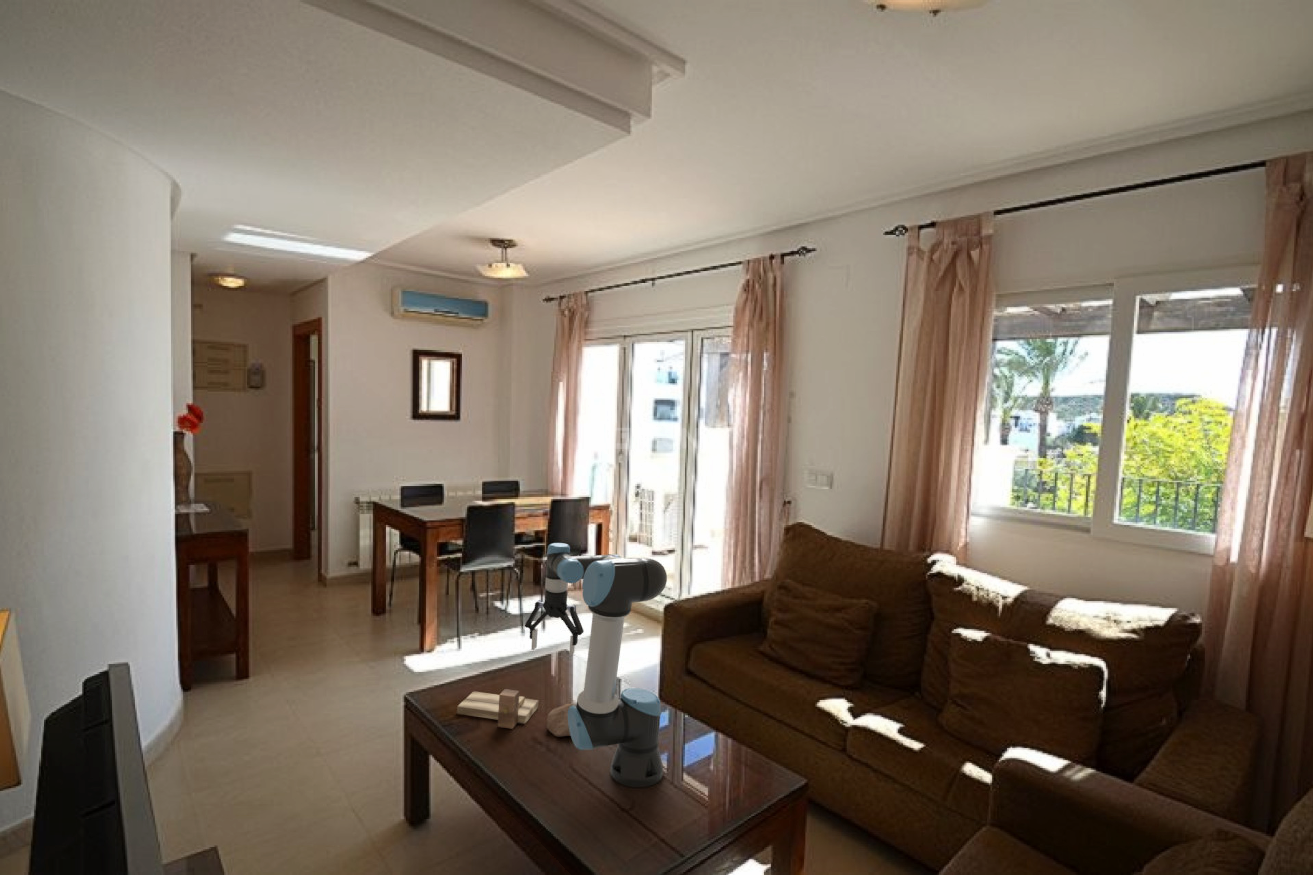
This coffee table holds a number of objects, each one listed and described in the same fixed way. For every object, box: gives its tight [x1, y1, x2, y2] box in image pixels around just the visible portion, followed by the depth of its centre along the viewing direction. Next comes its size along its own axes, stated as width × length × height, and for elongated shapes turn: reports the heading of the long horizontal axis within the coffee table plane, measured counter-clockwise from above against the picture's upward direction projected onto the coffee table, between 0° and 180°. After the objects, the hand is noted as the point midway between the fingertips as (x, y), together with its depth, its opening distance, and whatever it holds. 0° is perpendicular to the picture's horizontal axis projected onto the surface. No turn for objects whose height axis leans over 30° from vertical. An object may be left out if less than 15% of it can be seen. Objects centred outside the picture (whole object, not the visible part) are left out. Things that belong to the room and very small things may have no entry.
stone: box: [546, 702, 577, 737], centre depth 204 cm, size 12×9×10 cm
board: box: [456, 690, 539, 725], centre depth 214 cm, size 12×24×3 cm, turn 80°
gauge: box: [497, 688, 526, 730], centre depth 209 cm, size 15×5×10 cm, turn 170°
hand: (552, 651), depth 213 cm, fingers open, 13 cm apart
